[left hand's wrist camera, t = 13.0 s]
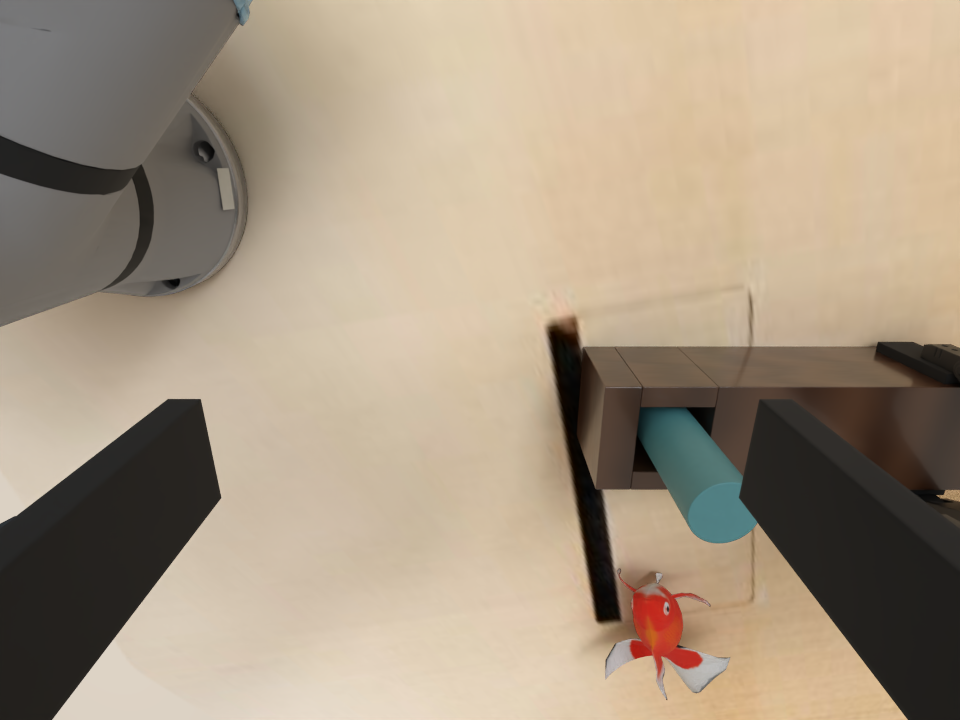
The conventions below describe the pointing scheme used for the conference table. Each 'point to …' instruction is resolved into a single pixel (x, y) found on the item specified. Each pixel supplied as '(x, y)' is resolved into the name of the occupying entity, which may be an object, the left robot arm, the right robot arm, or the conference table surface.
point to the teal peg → (695, 473)
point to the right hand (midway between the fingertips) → (879, 397)
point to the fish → (664, 638)
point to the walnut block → (768, 375)
